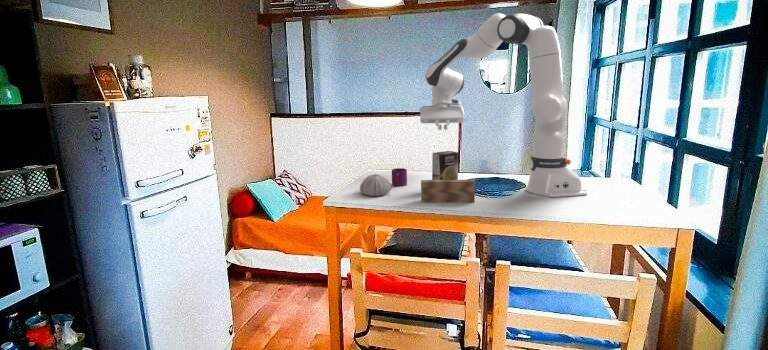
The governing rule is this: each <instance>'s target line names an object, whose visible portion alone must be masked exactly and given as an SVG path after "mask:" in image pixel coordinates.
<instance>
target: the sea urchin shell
mask: <svg viewBox="0 0 768 350" xmlns="http://www.w3.org/2000/svg"><path fill="white" fill-rule="evenodd" d="M391 190H392V183H391V182H390V180H389V179H388V178H386V177H385V176H383V175H381V174H375V173H374V174H370V175H368V176H366V178H364V179H363V180H362V182H361V183H360V185H359V191H360V194H362V195H365V196H370V197H380V196H384V195H387V194H389V193H390V192H391Z"/></svg>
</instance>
